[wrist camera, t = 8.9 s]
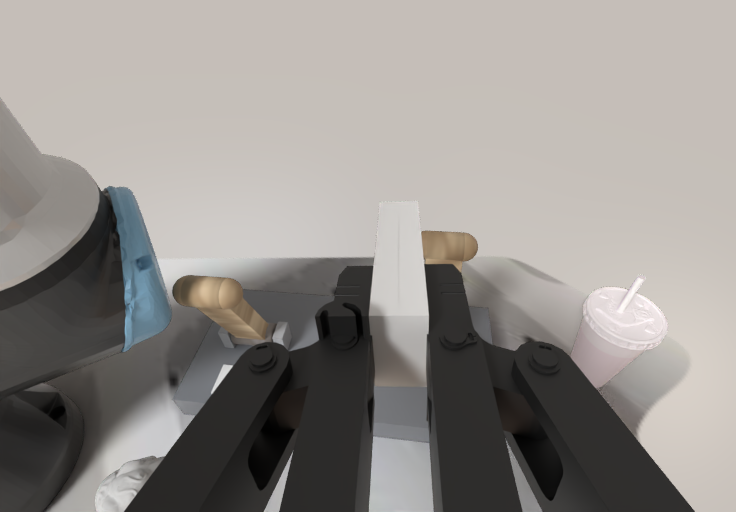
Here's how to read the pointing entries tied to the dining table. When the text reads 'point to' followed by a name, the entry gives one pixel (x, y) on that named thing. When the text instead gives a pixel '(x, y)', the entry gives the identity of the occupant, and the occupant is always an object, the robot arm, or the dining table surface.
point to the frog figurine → (124, 484)
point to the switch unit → (298, 330)
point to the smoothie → (616, 331)
